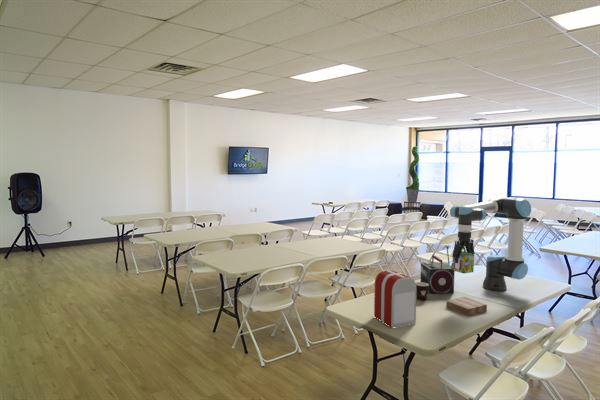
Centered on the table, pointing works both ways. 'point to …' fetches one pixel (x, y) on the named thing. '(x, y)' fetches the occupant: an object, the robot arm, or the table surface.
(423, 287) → the coffee mug
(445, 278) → the boombox
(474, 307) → the walnut base
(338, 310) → the table surface
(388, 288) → the red white striped case
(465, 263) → the chalk box
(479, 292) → the table surface
